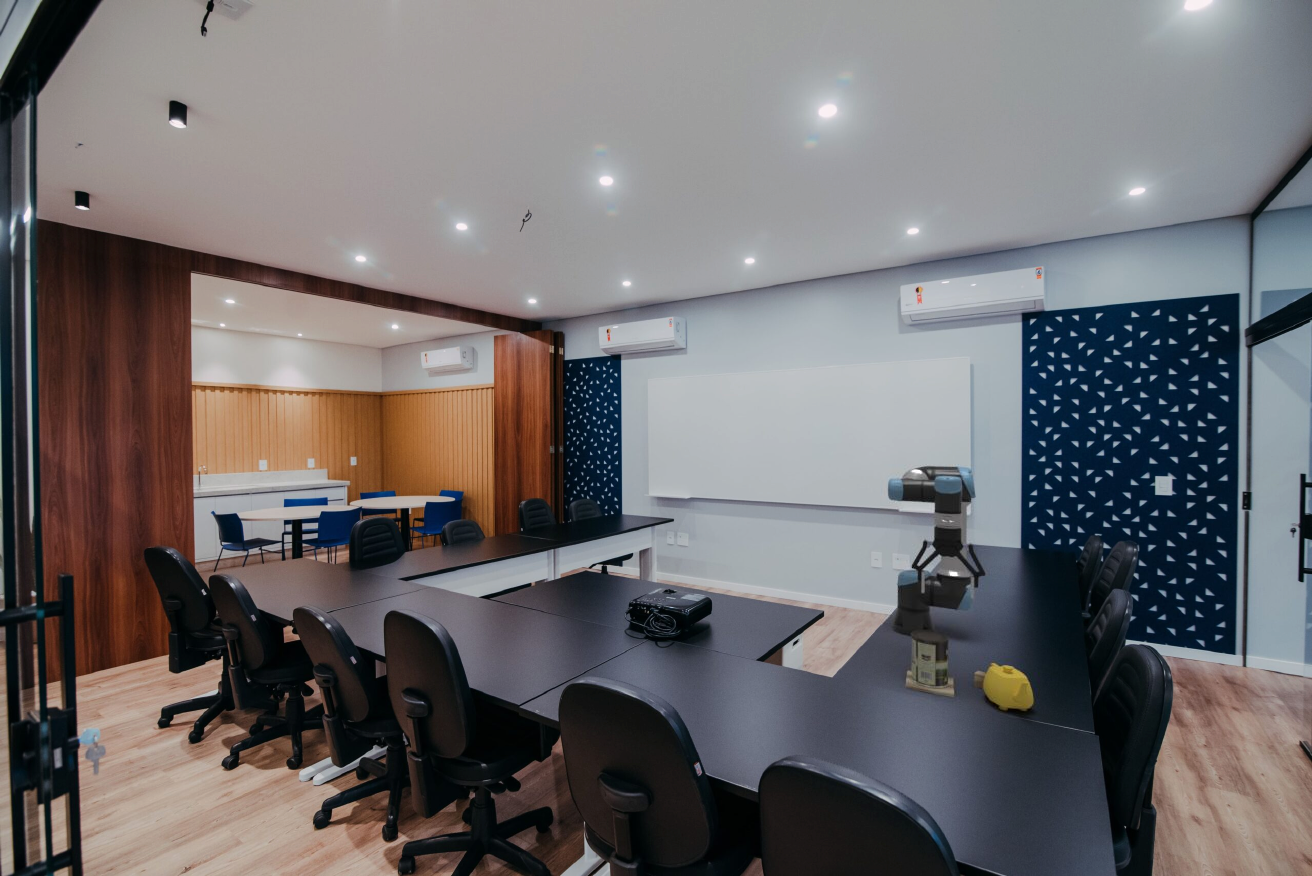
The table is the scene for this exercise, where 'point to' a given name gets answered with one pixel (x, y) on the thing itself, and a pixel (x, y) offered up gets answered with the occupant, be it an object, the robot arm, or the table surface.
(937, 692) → the trivet
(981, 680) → the beech brick
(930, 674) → the coffee can
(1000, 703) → the teapot
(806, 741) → the table surface
